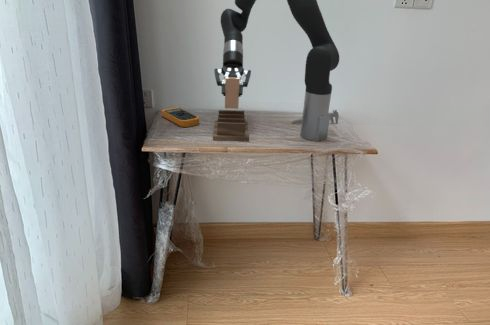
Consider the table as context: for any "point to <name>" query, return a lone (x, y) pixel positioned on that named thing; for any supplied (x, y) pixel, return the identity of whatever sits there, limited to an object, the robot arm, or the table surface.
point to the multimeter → (180, 117)
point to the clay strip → (232, 92)
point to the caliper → (334, 114)
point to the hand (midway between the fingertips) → (232, 95)
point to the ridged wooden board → (231, 126)
